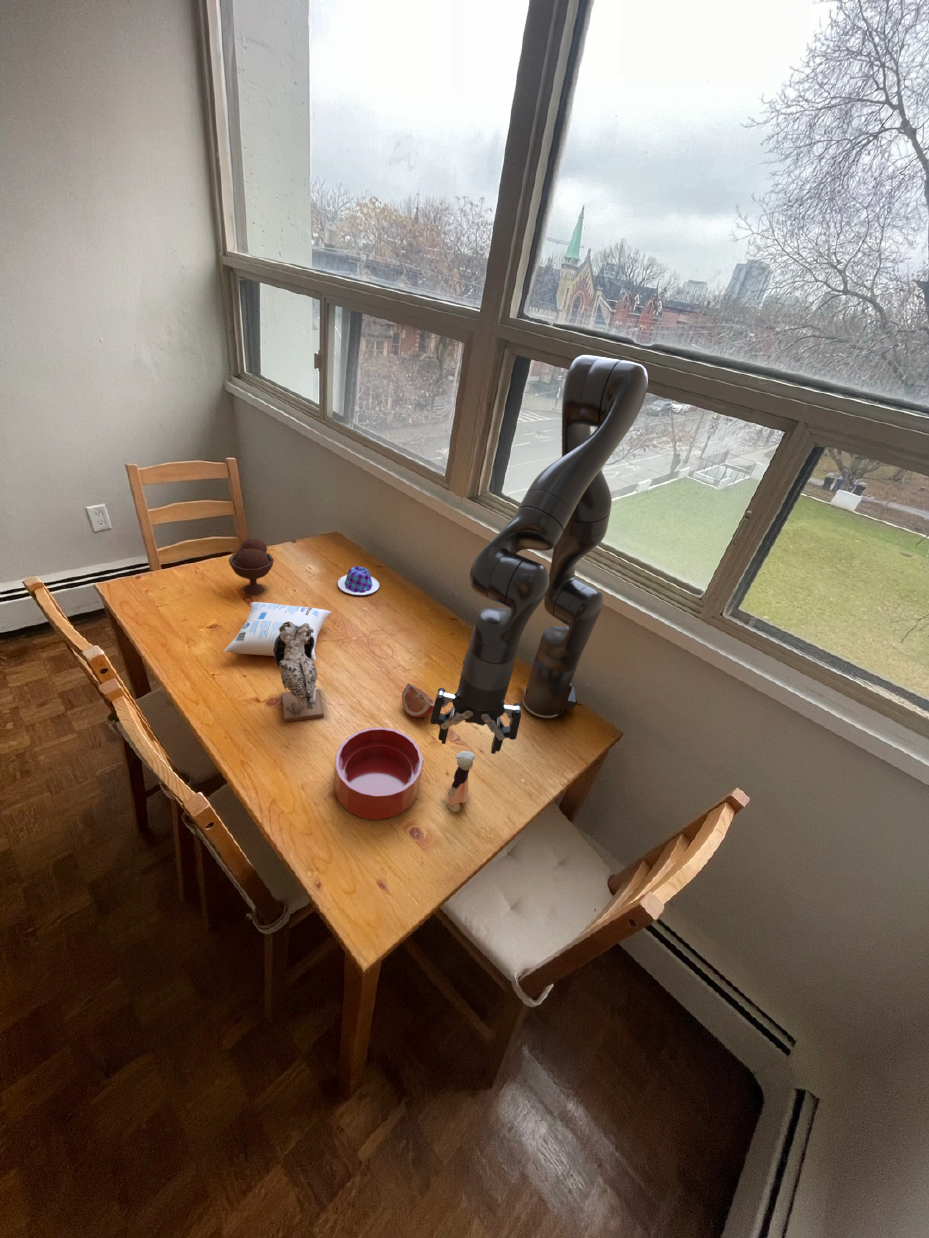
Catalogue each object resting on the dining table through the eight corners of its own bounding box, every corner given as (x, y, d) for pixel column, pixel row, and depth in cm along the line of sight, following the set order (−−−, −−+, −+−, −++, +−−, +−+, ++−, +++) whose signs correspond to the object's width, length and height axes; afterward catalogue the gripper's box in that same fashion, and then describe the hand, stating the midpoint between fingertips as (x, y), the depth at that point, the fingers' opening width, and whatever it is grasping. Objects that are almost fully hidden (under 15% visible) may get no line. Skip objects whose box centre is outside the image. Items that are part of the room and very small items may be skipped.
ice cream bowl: (232, 580, 142) (227, 531, 134) (275, 579, 146) (272, 532, 137) (230, 601, 134) (224, 550, 126) (275, 599, 138) (272, 550, 129)
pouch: (221, 635, 110) (315, 642, 112) (249, 592, 126) (331, 598, 128) (225, 664, 114) (316, 670, 116) (252, 618, 130) (331, 625, 132)
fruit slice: (394, 703, 112) (396, 687, 109) (419, 693, 116) (421, 676, 113) (416, 727, 107) (419, 710, 105) (441, 716, 111) (444, 699, 109)
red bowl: (424, 759, 101) (428, 735, 97) (410, 828, 88) (414, 803, 84) (348, 745, 101) (349, 720, 97) (322, 812, 88) (322, 786, 84)
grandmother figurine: (462, 819, 91) (474, 773, 84) (441, 813, 91) (451, 767, 84) (470, 785, 97) (482, 739, 90) (451, 780, 98) (461, 734, 91)
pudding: (387, 586, 152) (388, 571, 149) (360, 601, 143) (361, 586, 140) (356, 571, 157) (357, 556, 154) (328, 585, 148) (329, 569, 145)
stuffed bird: (304, 671, 116) (303, 608, 107) (346, 726, 104) (349, 662, 95) (260, 685, 110) (255, 620, 101) (300, 746, 99) (298, 679, 89)
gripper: (437, 679, 74) (423, 754, 83) (532, 697, 74) (509, 770, 83) (444, 649, 80) (430, 721, 89) (532, 666, 81) (510, 737, 89)
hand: (468, 745), depth 86 cm, fingers open, 8 cm apart
